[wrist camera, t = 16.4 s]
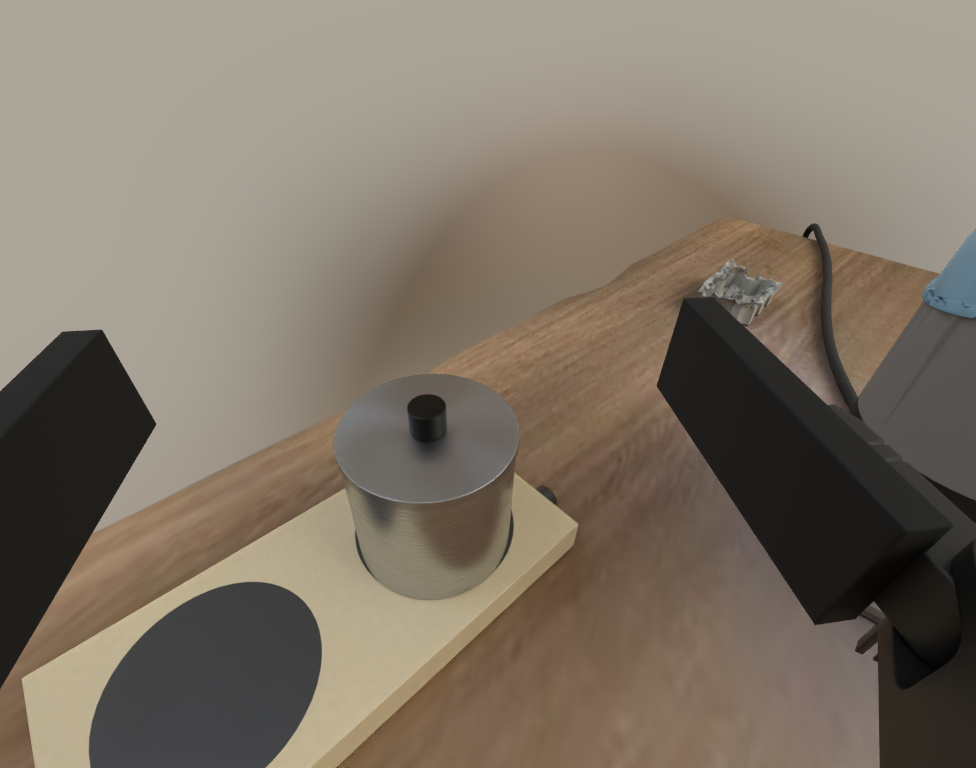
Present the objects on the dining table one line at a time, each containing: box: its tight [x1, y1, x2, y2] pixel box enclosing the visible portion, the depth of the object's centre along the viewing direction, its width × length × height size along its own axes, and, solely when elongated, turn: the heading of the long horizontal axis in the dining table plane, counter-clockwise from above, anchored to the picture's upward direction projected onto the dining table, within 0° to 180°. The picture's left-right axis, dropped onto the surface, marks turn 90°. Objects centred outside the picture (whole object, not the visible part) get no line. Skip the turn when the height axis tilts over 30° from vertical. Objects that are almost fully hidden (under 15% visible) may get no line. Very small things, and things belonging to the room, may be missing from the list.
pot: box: [334, 374, 519, 600], centre depth 28 cm, size 10×10×11 cm
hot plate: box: [22, 472, 578, 768], centre depth 29 cm, size 29×13×2 cm, turn 133°
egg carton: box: [698, 259, 783, 325], centre depth 60 cm, size 11×8×4 cm
